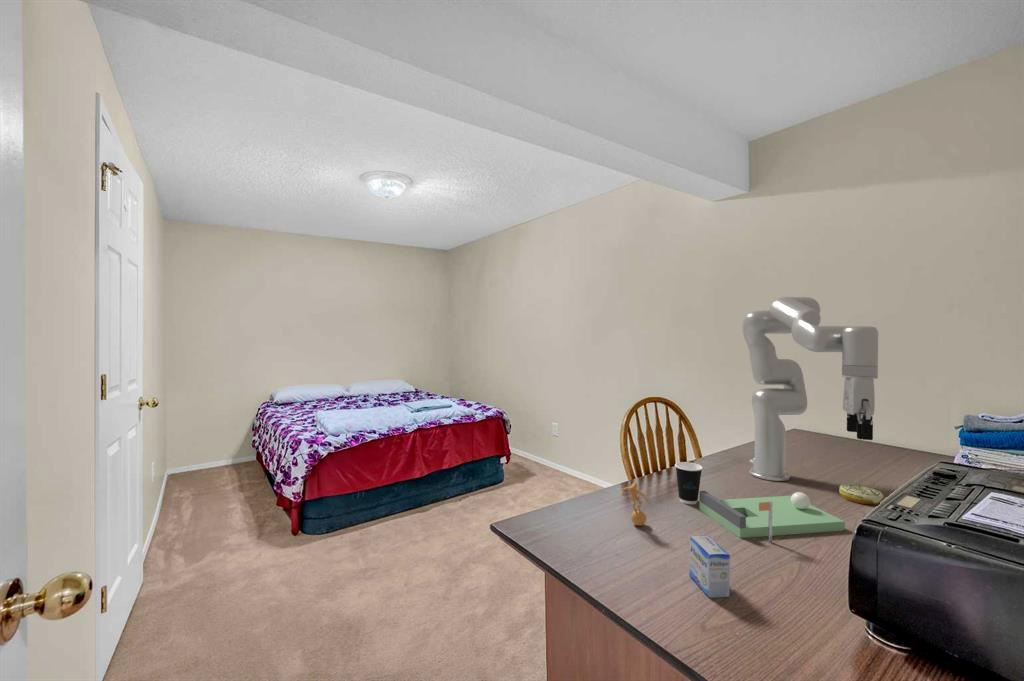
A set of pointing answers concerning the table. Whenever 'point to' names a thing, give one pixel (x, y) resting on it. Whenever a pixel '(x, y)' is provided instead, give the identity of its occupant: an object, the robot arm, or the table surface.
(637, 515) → the figurine
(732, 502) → the mat
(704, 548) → the medicine box
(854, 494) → the decorated donut
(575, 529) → the table surface
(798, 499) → the ball
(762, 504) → the flag pin
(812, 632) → the table surface
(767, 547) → the table surface
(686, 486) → the dixie cup
